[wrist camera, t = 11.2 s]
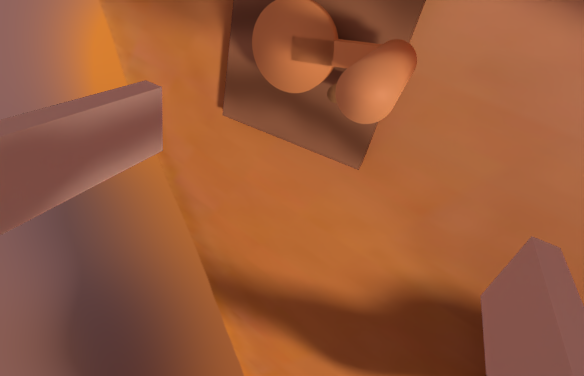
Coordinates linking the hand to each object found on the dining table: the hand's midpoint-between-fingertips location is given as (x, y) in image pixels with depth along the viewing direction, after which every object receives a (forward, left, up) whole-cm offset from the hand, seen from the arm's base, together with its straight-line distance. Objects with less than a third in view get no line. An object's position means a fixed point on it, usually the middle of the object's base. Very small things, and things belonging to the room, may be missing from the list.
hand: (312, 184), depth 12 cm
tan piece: (+1, +5, -18) cm, 18 cm away
